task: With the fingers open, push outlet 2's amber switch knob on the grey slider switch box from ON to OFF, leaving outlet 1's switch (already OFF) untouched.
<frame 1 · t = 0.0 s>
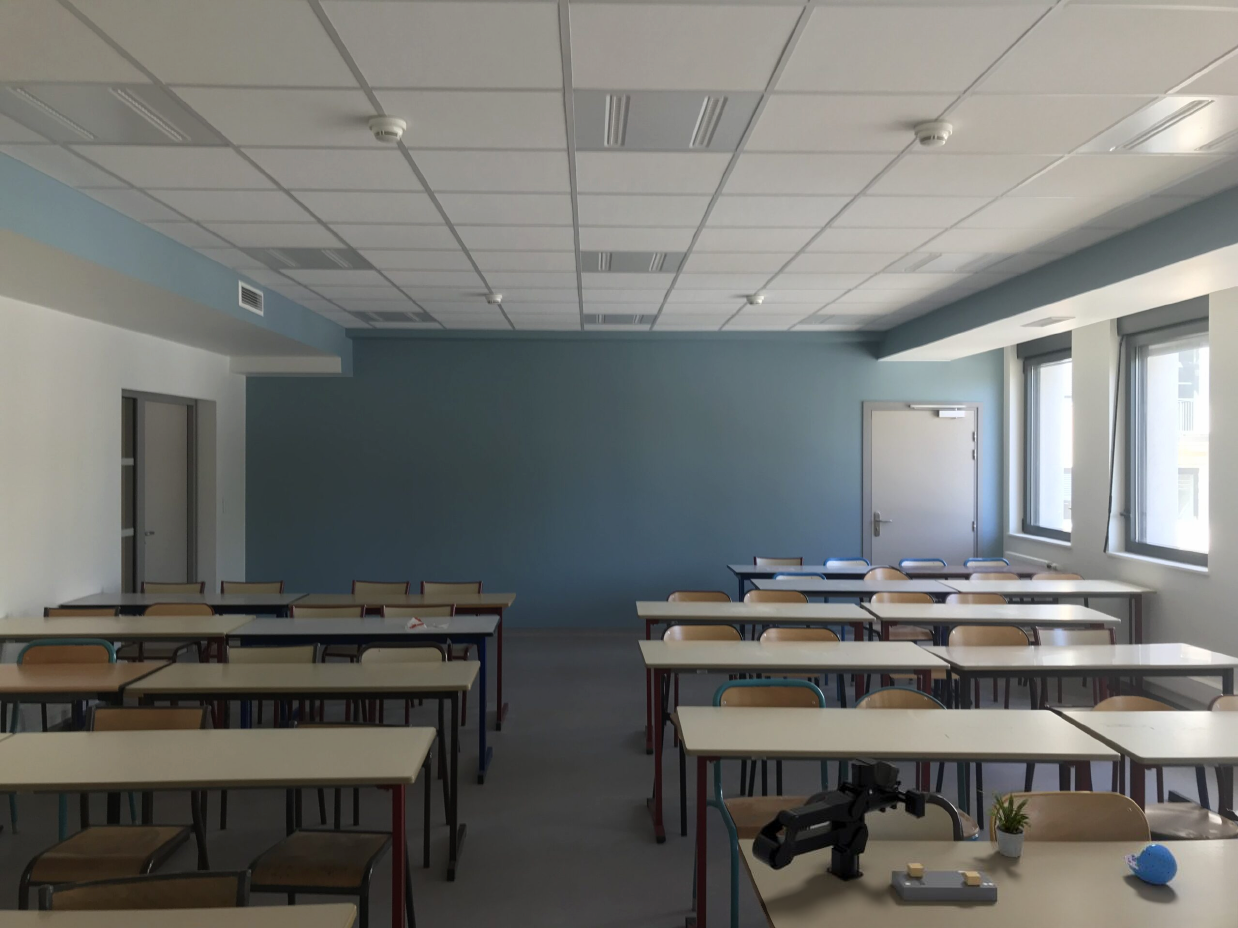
hand: (914, 788, 214), 17 cm above the table, tool horizontal, fingers open, 9 cm apart
grey slider switch box: (943, 891, 193), on the table
outlet 2 switch: (972, 877, 191), point 4 cm above the table, slide at 0.0 cm
cell model: (1149, 881, 199), on the table
outlet 1 switch: (915, 869, 195), point 4 cm above the table, slide at 4.0 cm
house plant: (1004, 853, 214), on the table
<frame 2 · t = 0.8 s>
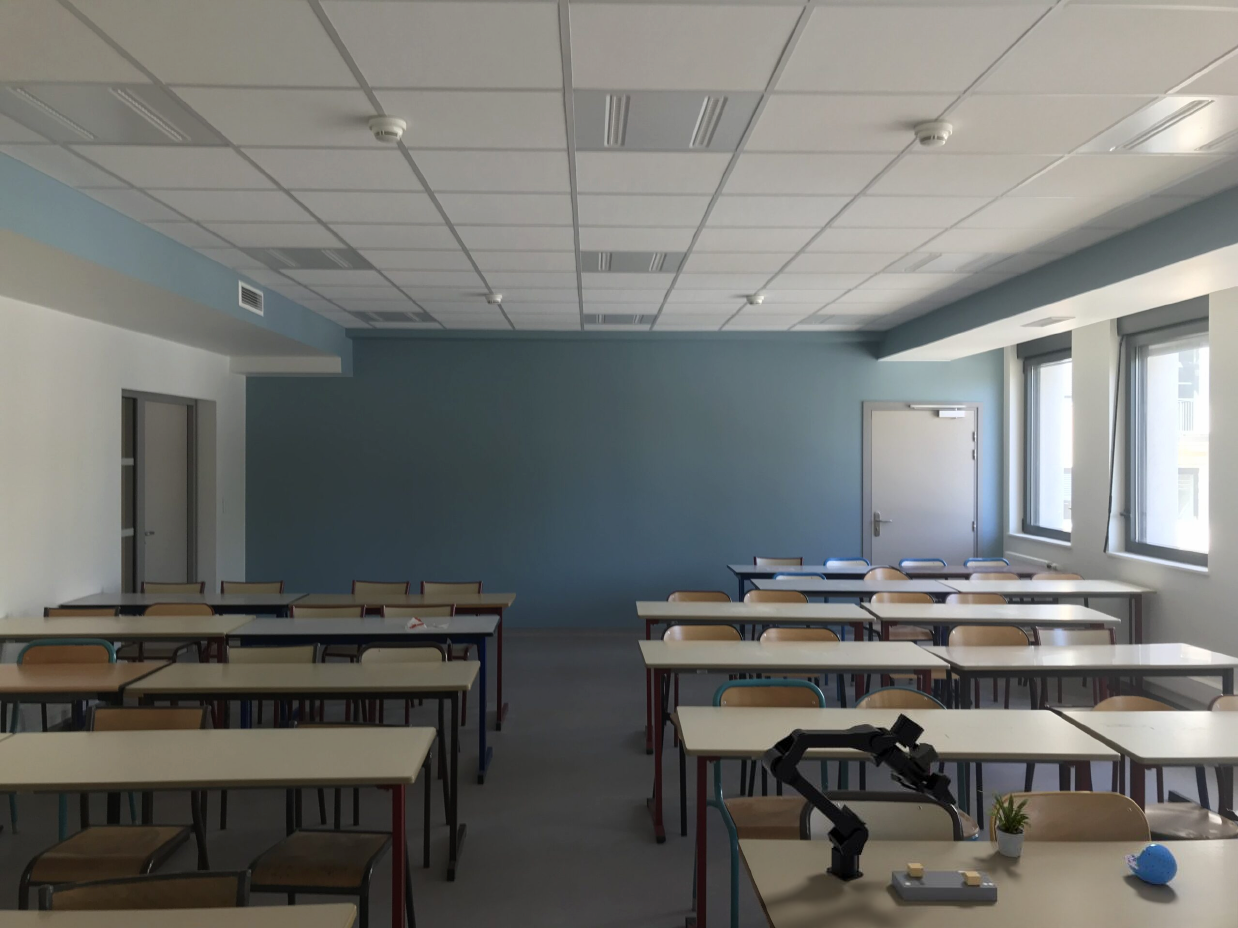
hand: (943, 798, 206), 17 cm above the table, tool tilted 50°, fingers open, 9 cm apart
nothing on the table moved.
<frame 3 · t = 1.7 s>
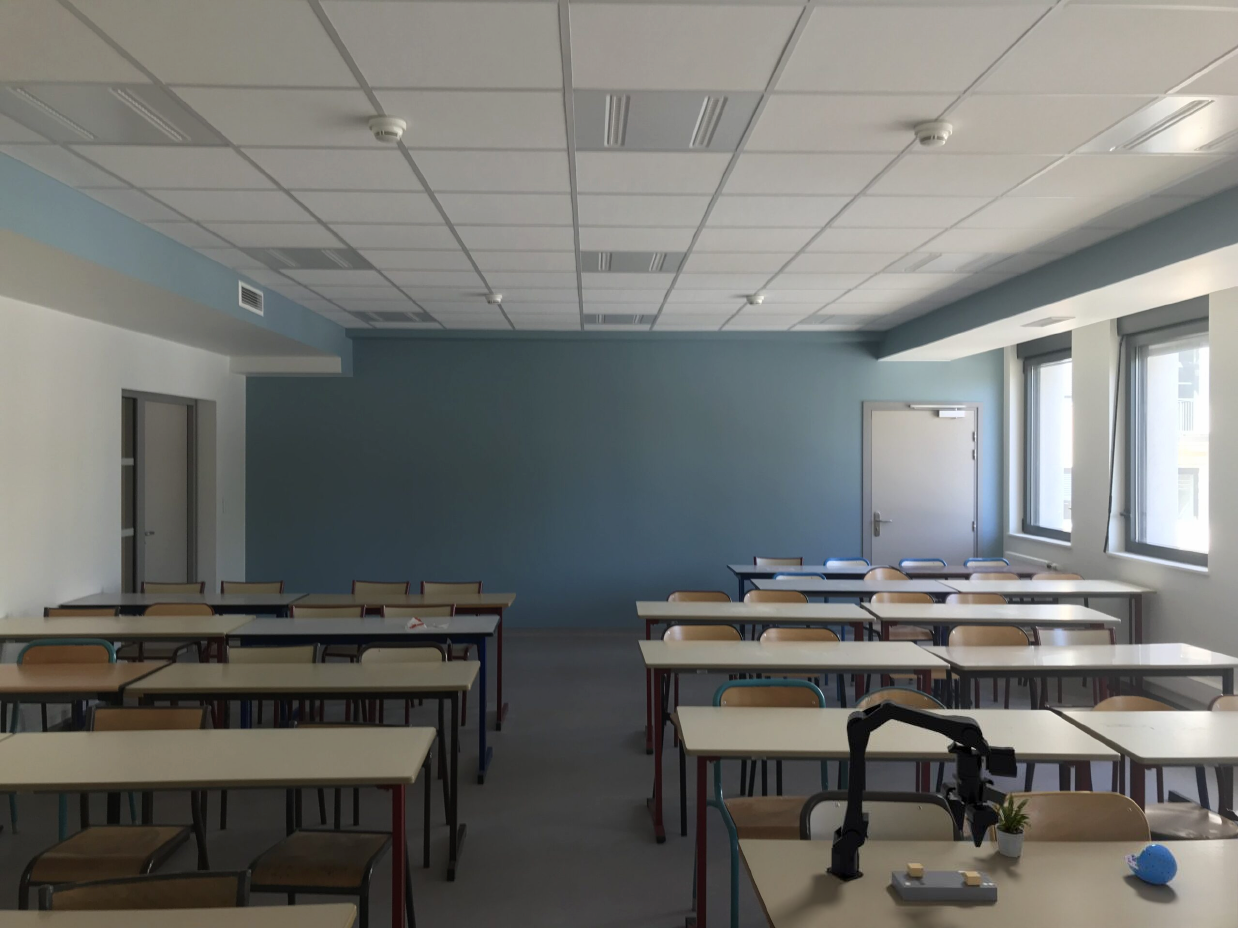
hand: (968, 838, 193), 13 cm above the table, tool pointing down, fingers open, 9 cm apart
nothing on the table moved.
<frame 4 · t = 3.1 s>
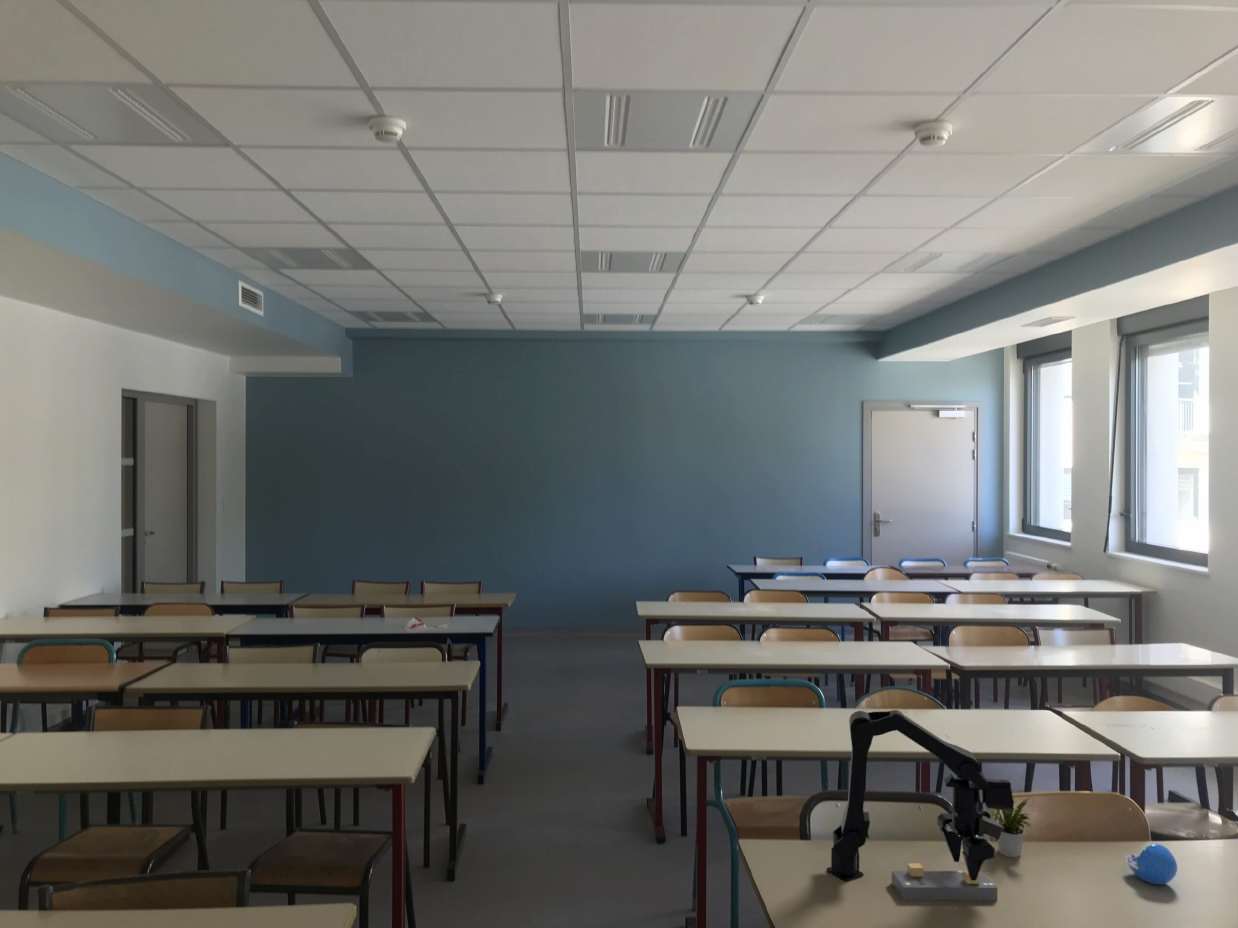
hand: (964, 870, 195), 4 cm above the table, tool pointing down, fingers open, 9 cm apart
outlet 2 switch: (971, 876, 191), point 4 cm above the table, slide at 0.6 cm, touching gripper
everything else where it was.
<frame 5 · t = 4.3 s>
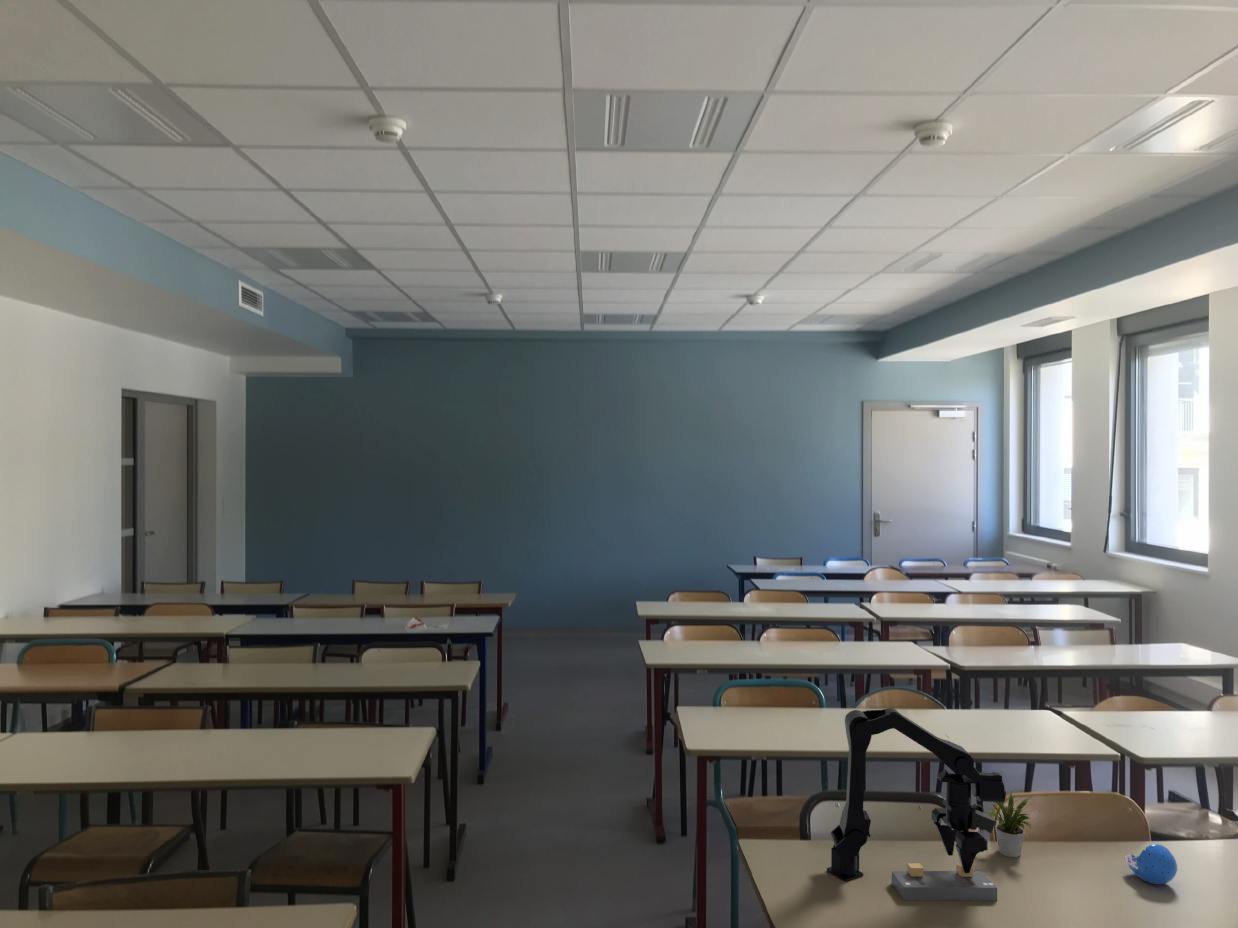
hand: (958, 863, 198), 4 cm above the table, tool pointing down, fingers open, 9 cm apart
outlet 2 switch: (964, 869, 195), point 4 cm above the table, slide at 4.1 cm, touching gripper
everything else where it was.
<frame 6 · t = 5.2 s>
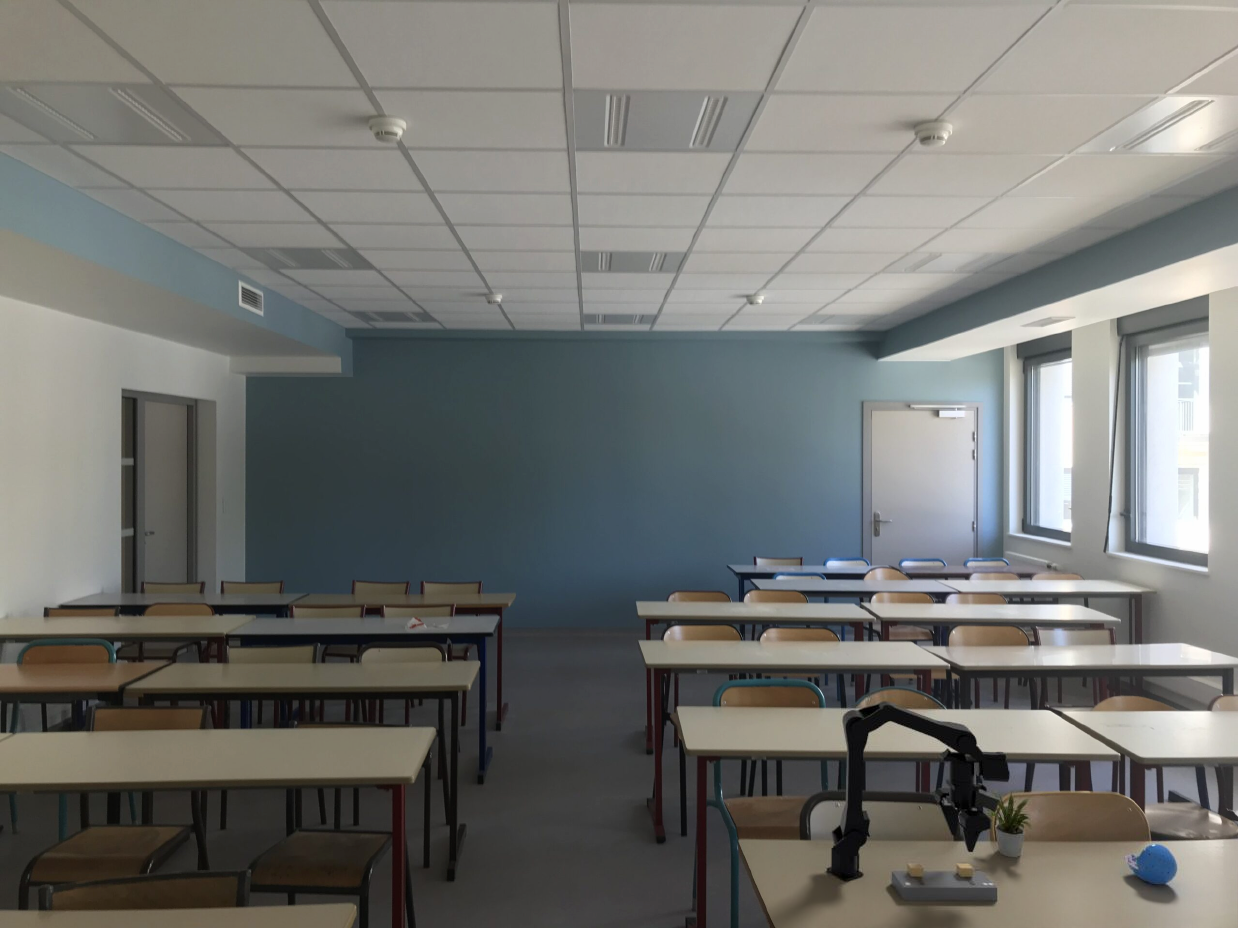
hand: (961, 843, 197), 10 cm above the table, tool pointing down, fingers open, 9 cm apart
outlet 2 switch: (964, 869, 195), point 4 cm above the table, slide at 4.0 cm
everything else where it was.
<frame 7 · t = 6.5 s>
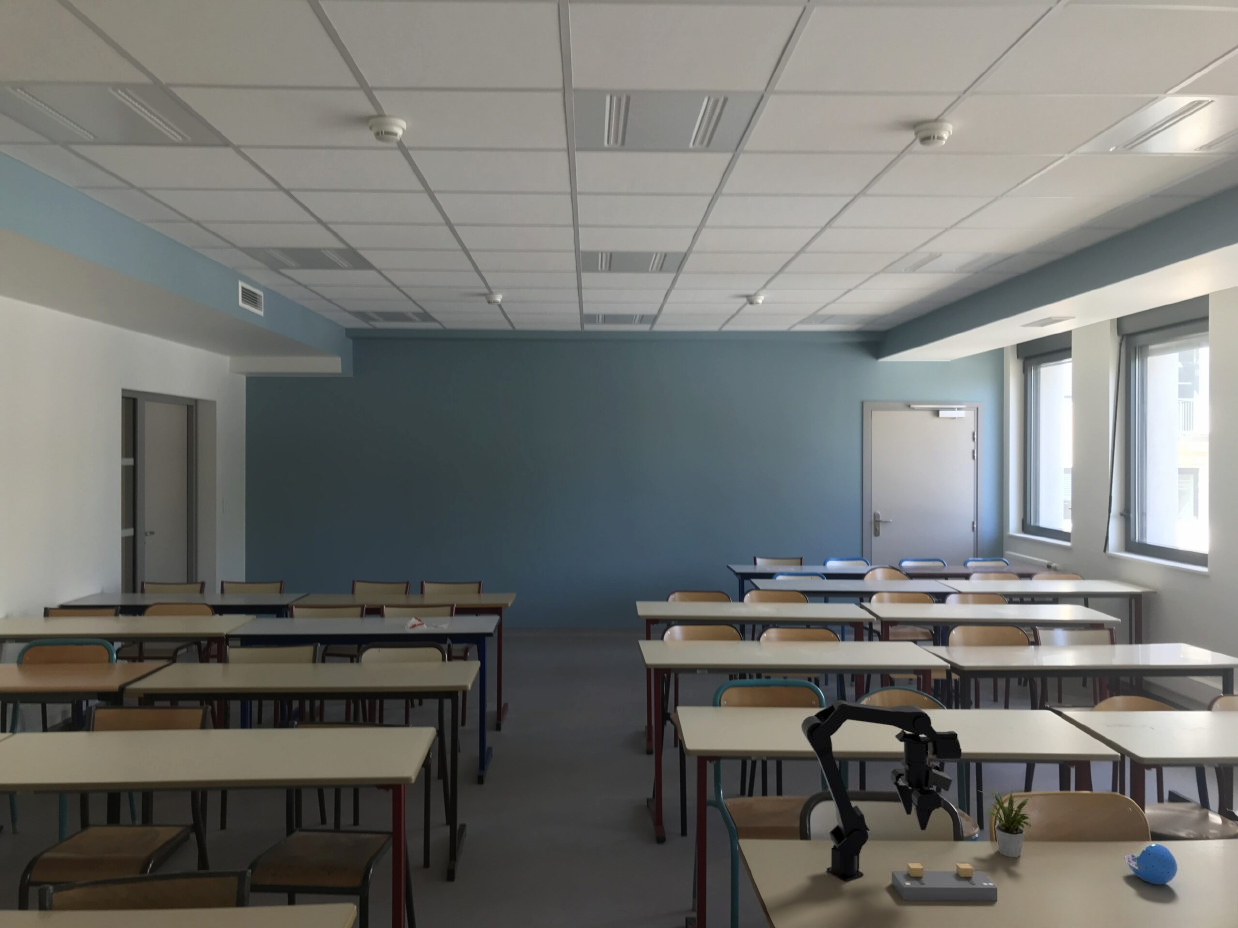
hand: (915, 821, 201), 13 cm above the table, tool pointing down, fingers open, 9 cm apart
nothing on the table moved.
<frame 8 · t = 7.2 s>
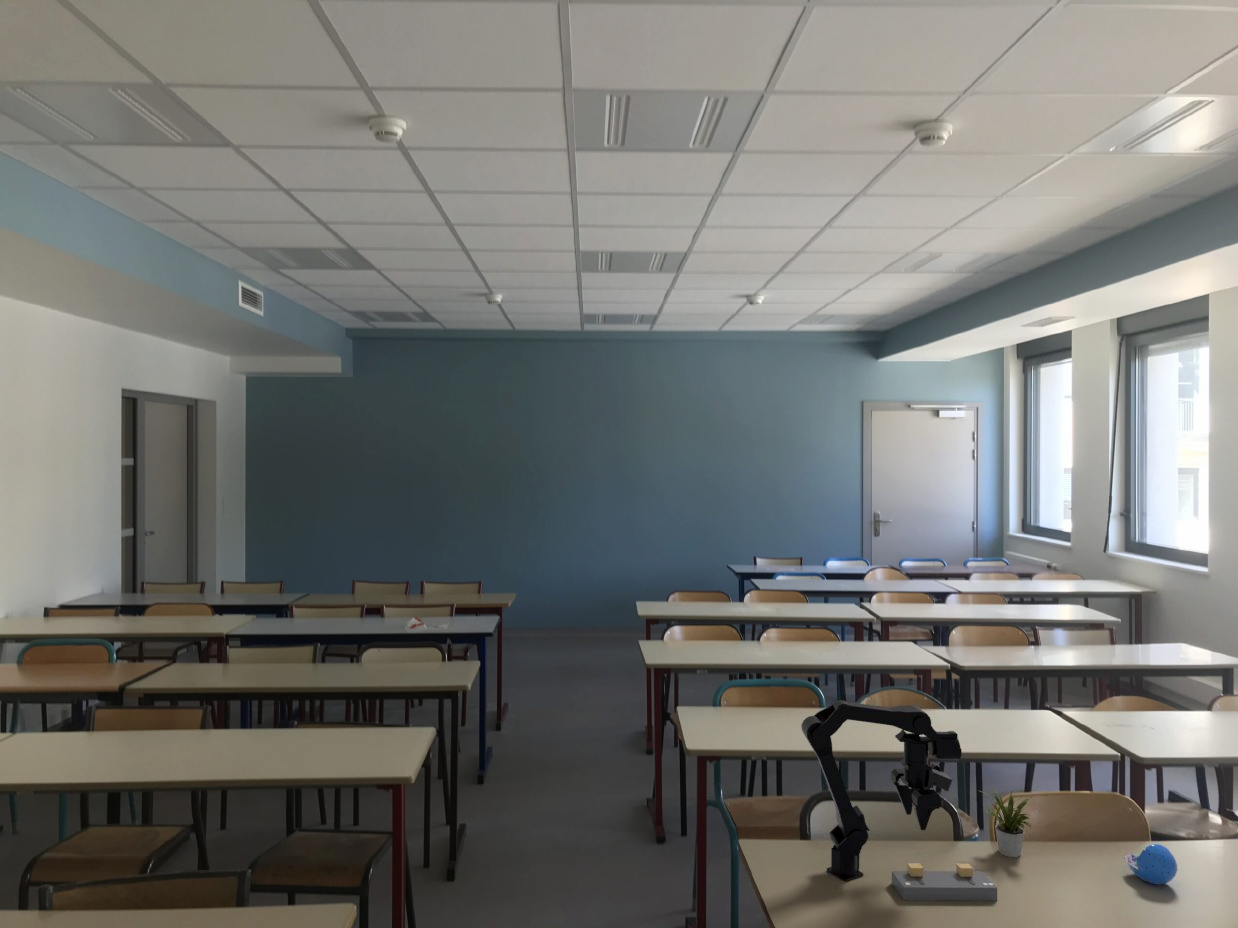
hand: (915, 821, 201), 13 cm above the table, tool pointing down, fingers open, 9 cm apart
nothing on the table moved.
at the end: outlet 2 switch slide at 4.0 cm; outlet 1 switch slide at 4.0 cm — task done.
